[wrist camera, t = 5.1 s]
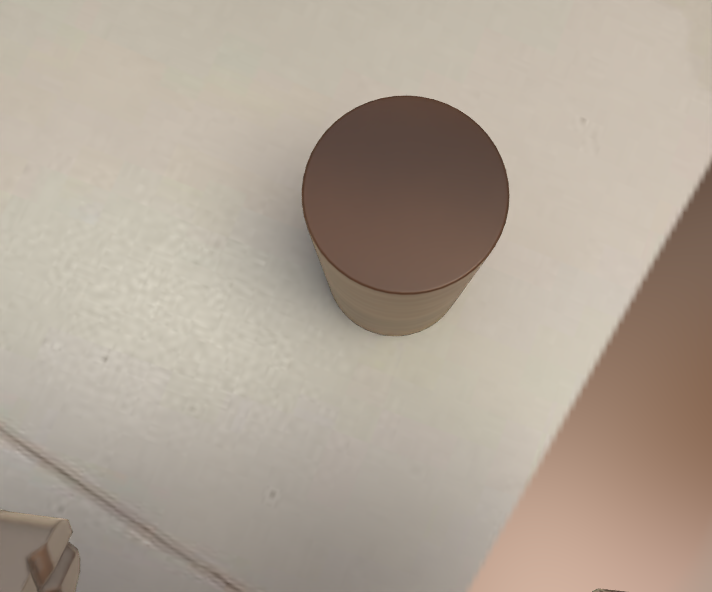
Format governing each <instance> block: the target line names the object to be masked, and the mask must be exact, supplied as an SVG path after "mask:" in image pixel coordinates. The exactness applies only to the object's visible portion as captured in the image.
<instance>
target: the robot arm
mask: <svg viewBox="0 0 712 592" xmlns="http://www.w3.org/2000/svg"><path fill="white" fill-rule="evenodd" d="M72 533H73V531H72V528H71V525H70V522H69V520H68V519H62V518H55V517H47V516H40V515H32V514H24V513H17V512H9V511H5V510H0V592H75V590H76V586H77V582H78V578H79V574H80V555H79V551H78V549H77V548H76V547H75V546H74V545H72V544H71V543H70V542H69V539H70V537H71V535H72ZM592 592H624V591H615V590H605V589H596V590H594V591H592Z"/></svg>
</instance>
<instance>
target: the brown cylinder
mask: <svg viewBox="0 0 712 592" xmlns="http://www.w3.org/2000/svg"><path fill="white" fill-rule="evenodd" d="M302 207H303V214H304V218H305V221H306V225H307V228H308V231H309V234H310V236H311V239H312V242H313V244H314V247H315V250H316V252H317V255H318V258H319V260H320V263H321V266H322V268H323V271H324V274H325V276H326V279H327V282H328V284H329V287H330V290H331V292H332V295H333V297H334V299H335V301H336V303H337V304H338V306H339V308H340V309H341V310H342V311H343V312H344V314H345V315H346V316H347V317H348V318H349V319H351V320H352V321H353V322H354V323H356V324H357V325H359V326H360V327H362V328H364V329H366V330H368V331H371V332H374V333H377V334H381V335H388V336H403V335H410V334H413V333H417V332H420V331H422V330H424V329H426V328H428V327H430V326H432V325H433V324H435V323H436V322H437V321H438V320H440V319H441V318H442V317H443V316H444V315H445V314H446V313H447V312H448V310H449V309H450V308H451V306H452V305H453V303H454V302H455V301H456V299H457V298H458V297H459V295H460V294H461V293H462V291H463V290H464V288H465V287H466V286H467V284H468V283H469V282H470V280H471V279H472V277H473V276H474V275H475V273H476V272H477V271H478V269H479V268H480V266H481V265H482V264H483V262H484V261H485V260H486V258H487V257H488V255H489V254H490V253H491V251H492V250H493V248H494V247H495V245H496V243H497V242H498V240H499V238H500V236H501V234H502V231H503V228H504V225H505V223H506V218H507V214H508V208H509V183H508V178H507V173H506V169H505V166H504V163H503V160H502V158H501V156H500V154H499V152H498V150H497V148H496V146H495V145H494V143H493V142H492V140H491V139H490V137H489V136H488V135H487V134H486V132H485V131H484V130H483V129H482V128H481V127H480V126H479V125H478V124H477V123H476V122H475V121H473V120H472V119H471V118H470V117H469V116H467V115H466V114H464V113H463V112H461V111H460V110H458V109H456V108H454V107H452V106H450V105H448V104H445V103H443V102H440V101H437V100H434V99H429V98H424V97H417V96H393V97H386V98H381V99H377V100H374V101H371V102H368V103H365V104H363V105H361V106H359V107H356V108H355V109H353V110H351V111H350V112H348V113H346V114H345V115H343V116H342V117H341V118H340V119H338V120H337V121H336V122H335V123H334V124H333V125H332V126H331V127H330V128H329V129H328V130H327V131H326V132H325V133H324V134H323V136H322V137H321V138H320V140H319V141H318V142H317V144H316V146H315V148H314V149H313V151H312V153H311V155H310V158H309V160H308V162H307V165H306V169H305V173H304V176H303V184H302Z"/></svg>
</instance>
